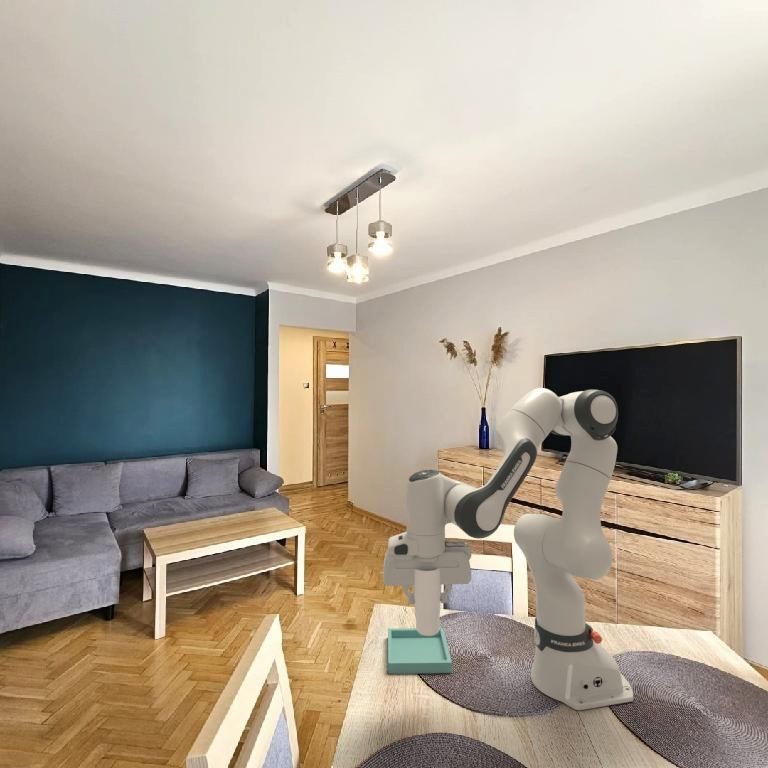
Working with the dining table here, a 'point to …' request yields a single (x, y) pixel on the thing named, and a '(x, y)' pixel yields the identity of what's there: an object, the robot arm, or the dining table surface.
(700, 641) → the dining table surface
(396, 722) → the dining table surface
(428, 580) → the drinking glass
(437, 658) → the tray
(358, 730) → the dining table surface
